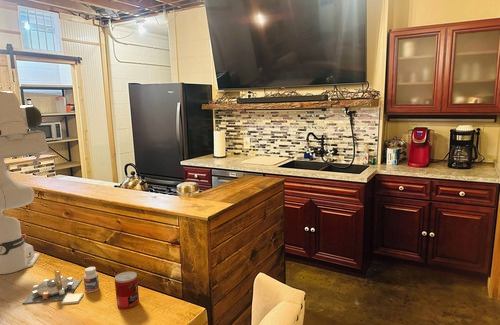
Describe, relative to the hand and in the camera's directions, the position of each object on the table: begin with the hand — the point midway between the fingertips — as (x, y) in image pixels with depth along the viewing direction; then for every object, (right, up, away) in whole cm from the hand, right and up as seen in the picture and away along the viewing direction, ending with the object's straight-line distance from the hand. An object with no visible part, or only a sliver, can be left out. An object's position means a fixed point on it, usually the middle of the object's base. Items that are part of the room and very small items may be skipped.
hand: (22, 167), depth 132 cm
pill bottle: (+22, -50, +10) cm, 55 cm away
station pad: (+18, -51, +2) cm, 54 cm away
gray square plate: (+7, -50, +9) cm, 51 cm away
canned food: (+40, -51, -2) cm, 65 cm away
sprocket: (+7, -50, +9) cm, 51 cm away
